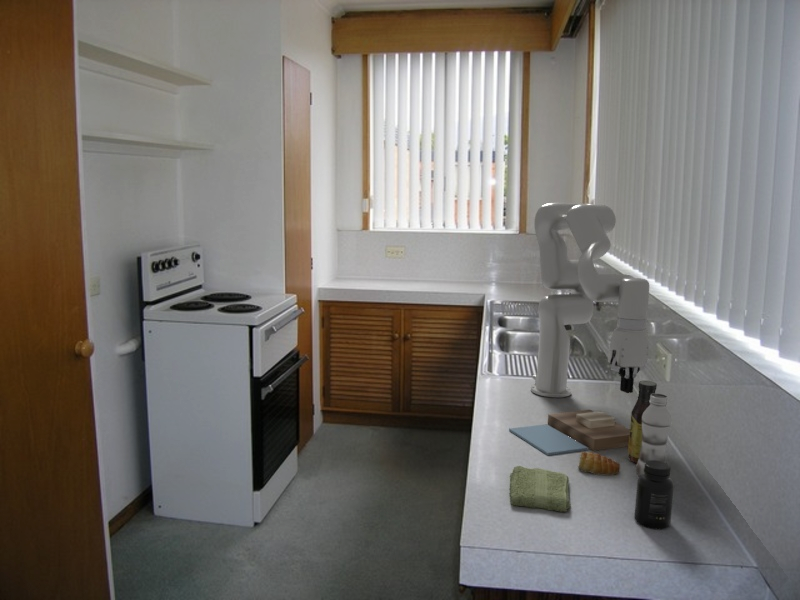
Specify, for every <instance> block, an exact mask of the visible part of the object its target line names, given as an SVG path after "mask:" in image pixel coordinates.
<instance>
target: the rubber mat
mask: <svg viewBox="0 0 800 600" xmlns="http://www.w3.org/2000/svg"><path fill="white" fill-rule="evenodd" d="M508 432H510V433H512V434H513V435H515V436H516V435H517V436H516V437H518V438H520V439H521V438H522V439H521V440H523V441H524V440H525V441H524V442H526V443H527V442H528V443H527V444H529V445H531V446H532V447H534V448H535V449H537V450H539V451H540V452H542V453H543V454H544V455H546V456H553V455H560V454H561V455H562V454H567V453H575V452H576V453H577V452H584V451H588V450H589V448H588V447H586V446H584V445H583V444H581V443H579V442H577V441H575V440H574V439H572V438H570V437H568V436H567V435H565V434H563V433H561V432H560V431H558V430H556V429H554V428H553V427H551V426H549V425H548V423H547V424H537V425H528V426H520V427H511V428H510V427H509V428H508Z"/></svg>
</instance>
